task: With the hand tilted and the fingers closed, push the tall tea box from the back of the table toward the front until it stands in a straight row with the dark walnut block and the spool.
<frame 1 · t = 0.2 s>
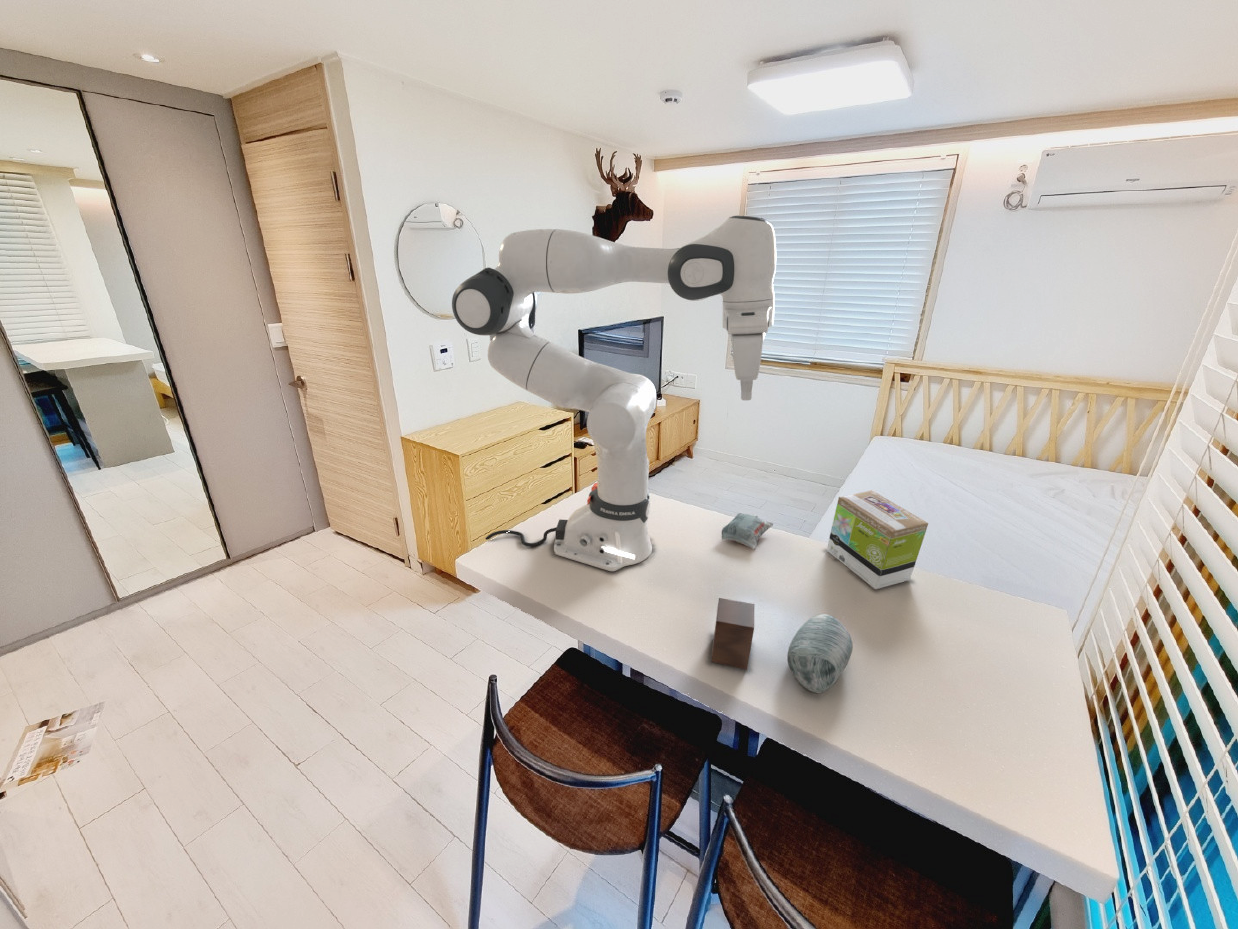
hand: (746, 392, 94), 39 cm above the table, tool pointing down, fingers open, 8 cm apart
packaged food: (746, 539, 120), on the table
walnut block: (729, 652, 87), on the table
tea box: (865, 566, 111), on the table
spool: (815, 669, 85), on the table
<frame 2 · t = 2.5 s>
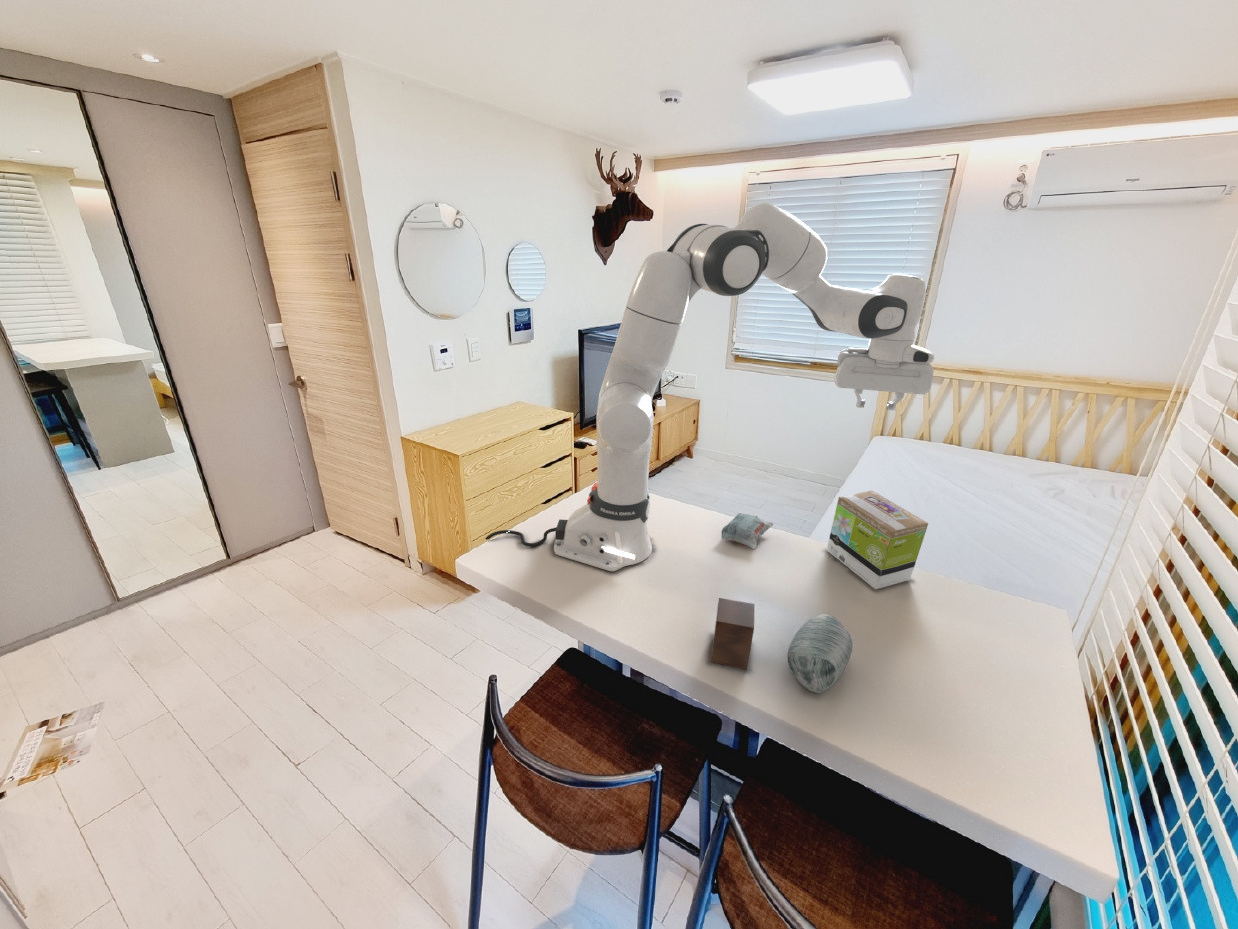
hand: (874, 408, 120), 29 cm above the table, tool pointing down, fingers open, 5 cm apart
nothing on the table moved.
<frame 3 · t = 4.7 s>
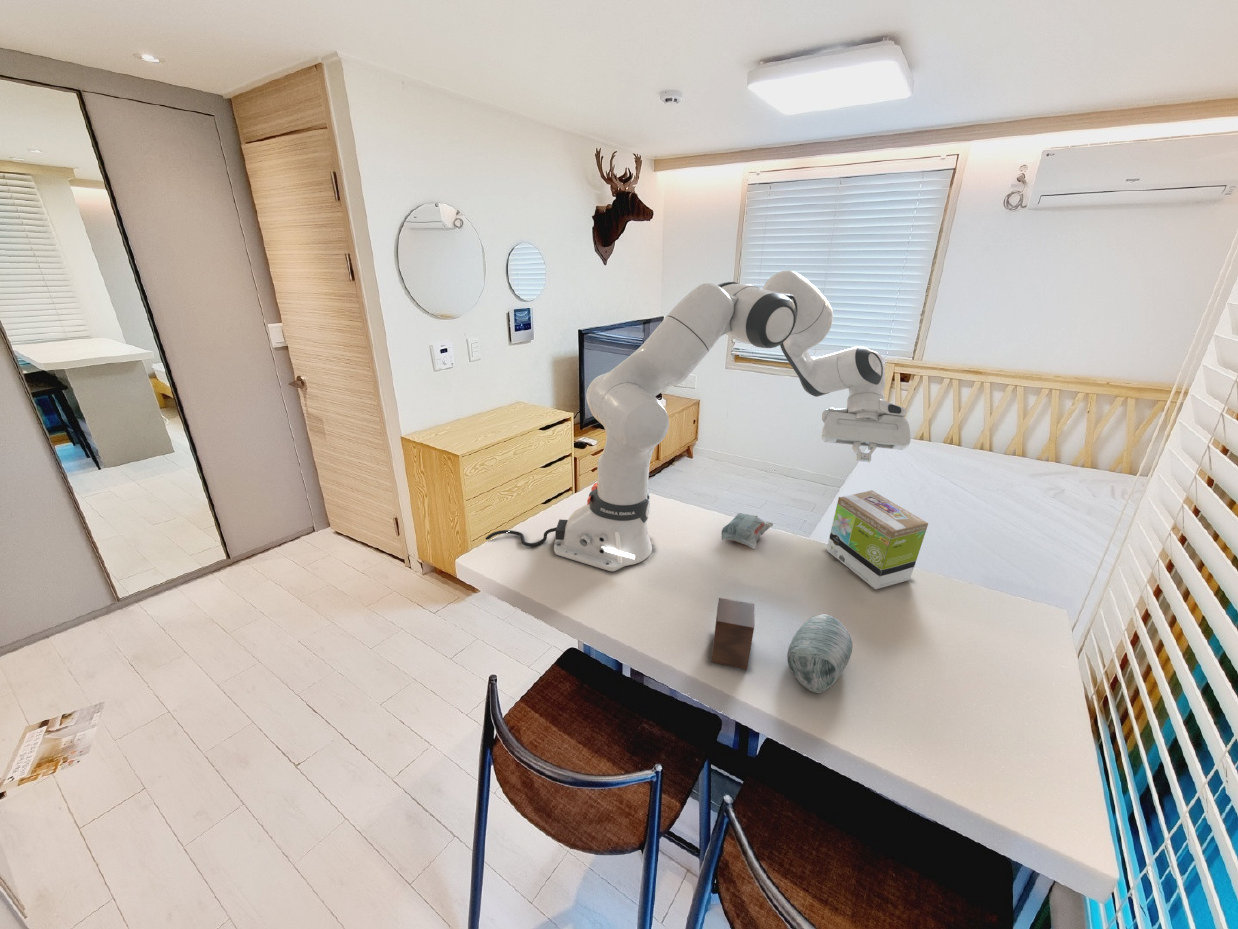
hand: (863, 460, 125), 16 cm above the table, tool tilted 45°, fingers closed
nothing on the table moved.
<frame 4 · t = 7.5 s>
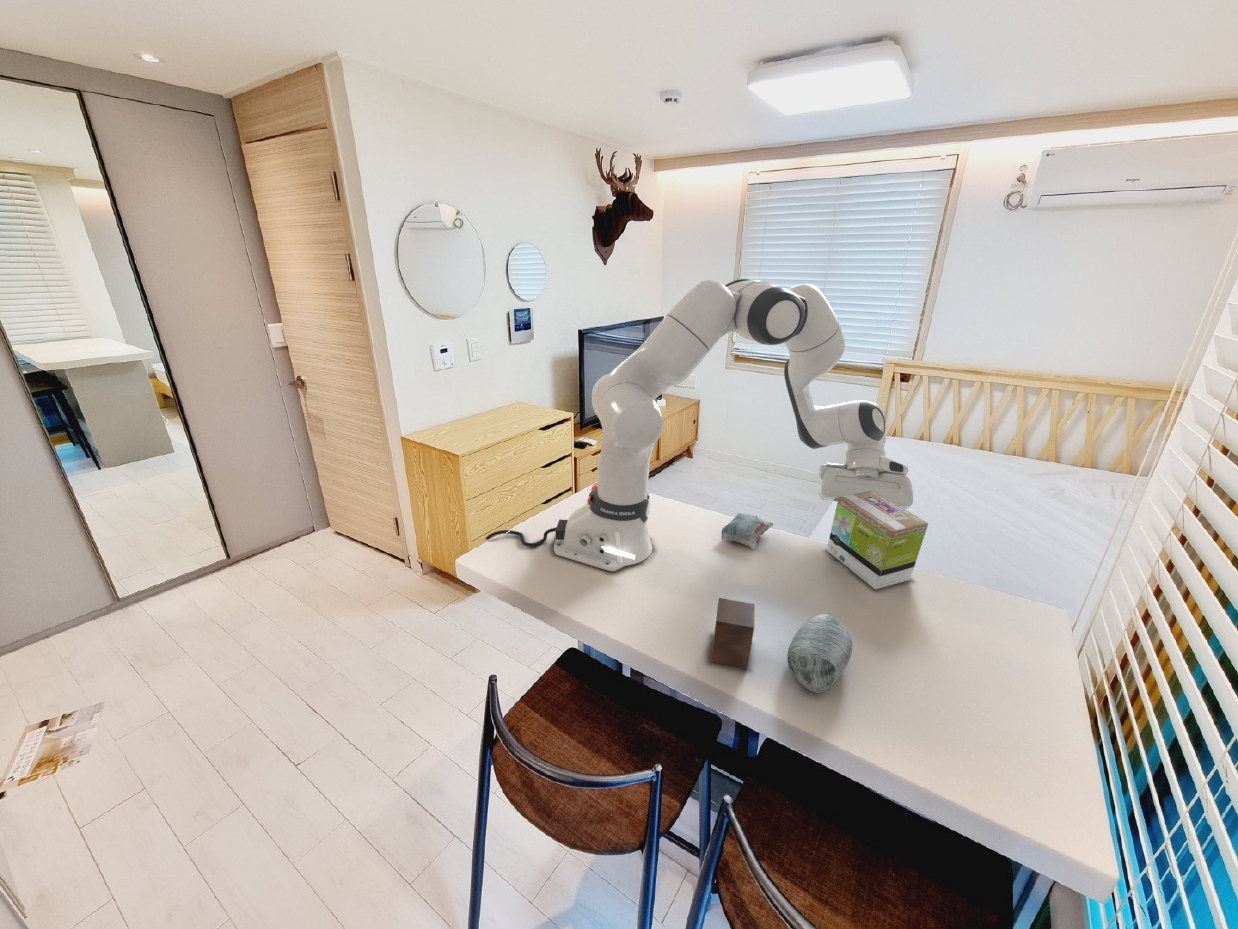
hand: (863, 522, 117), 6 cm above the table, tool tilted 45°, fingers closed
tea box: (865, 566, 111), on the table, touching gripper
everything else where it was.
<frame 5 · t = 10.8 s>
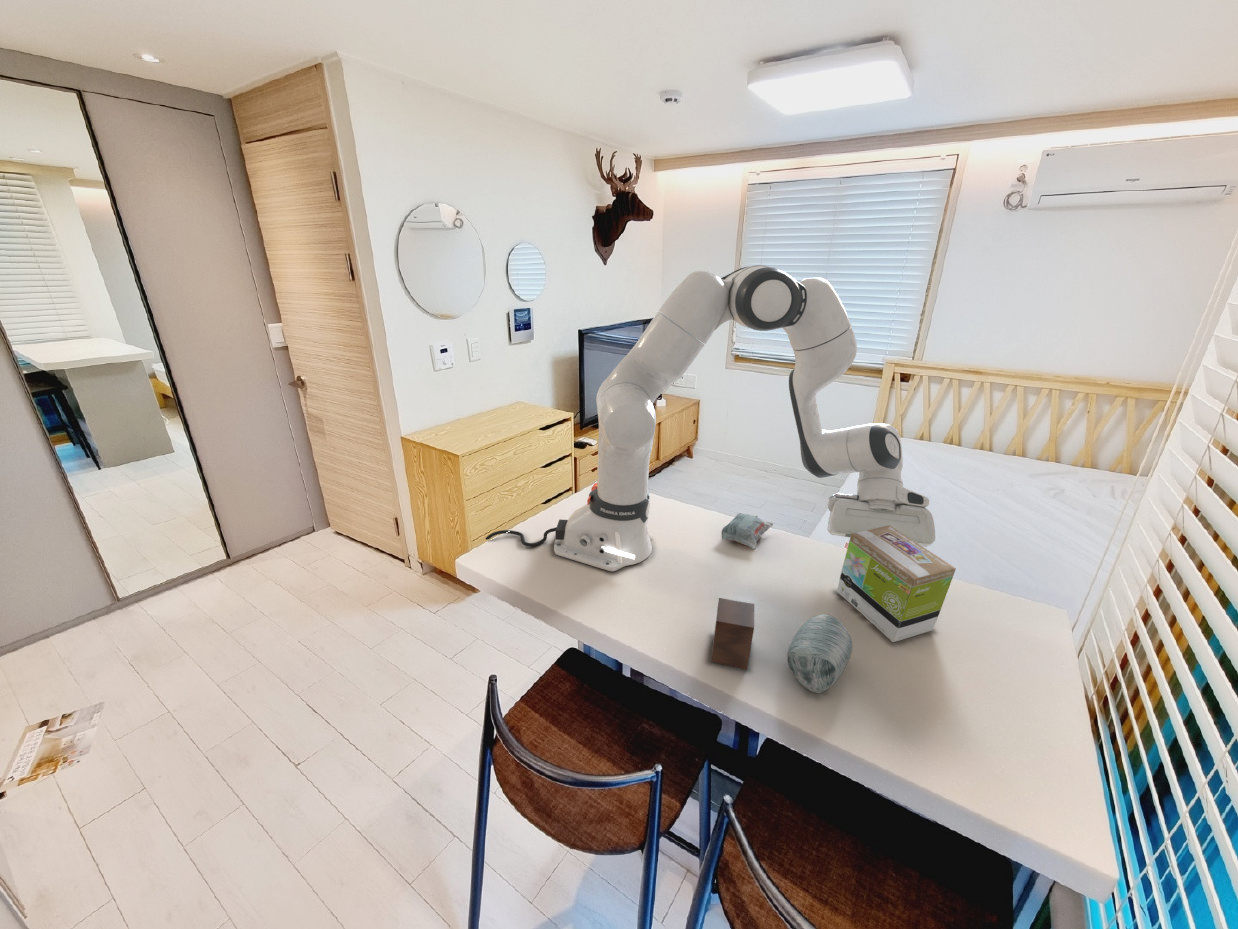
hand: (879, 561, 103), 6 cm above the table, tool tilted 45°, fingers closed
tea box: (881, 612, 98), on the table, touching gripper
everything else where it was.
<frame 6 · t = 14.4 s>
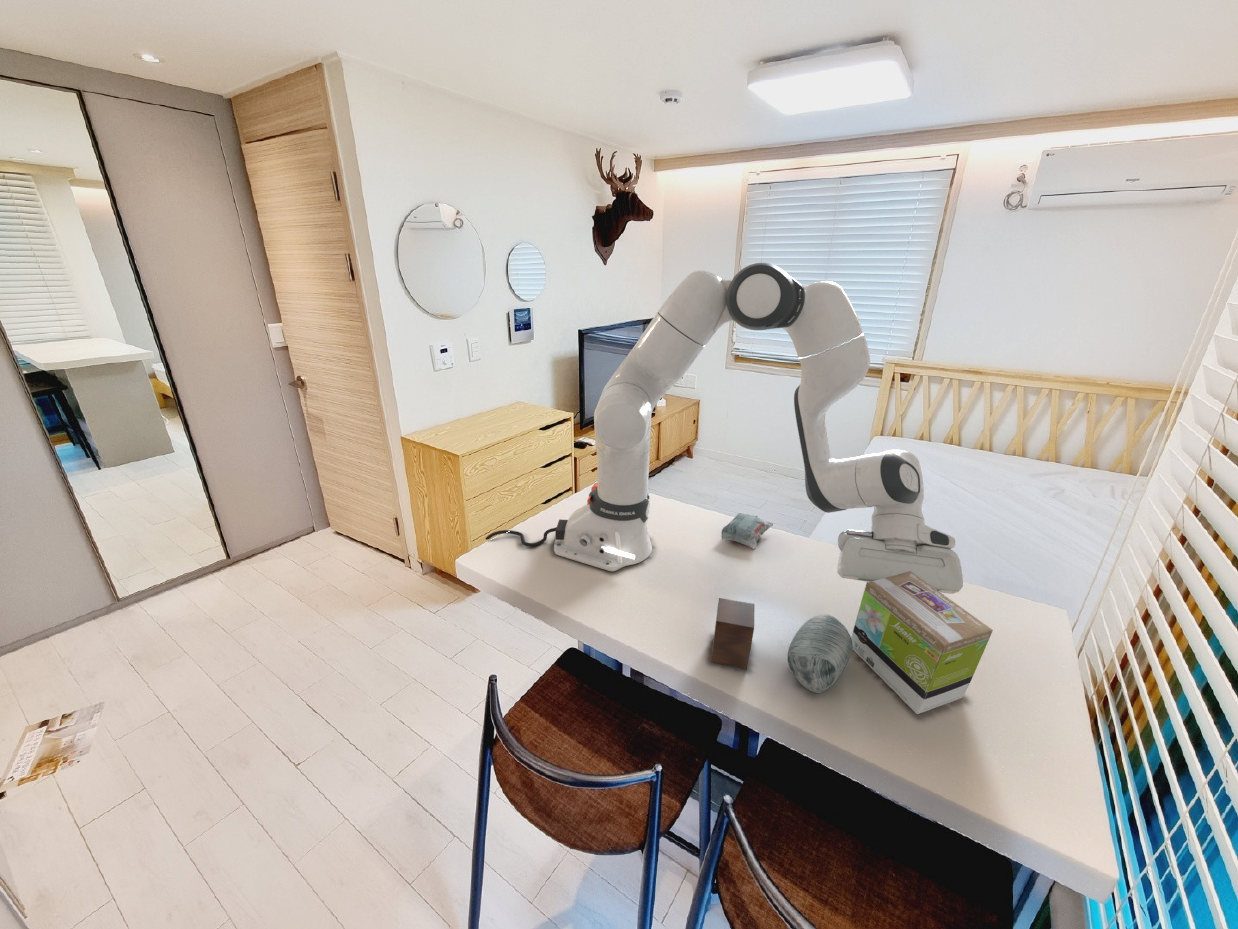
hand: (897, 611, 90), 5 cm above the table, tool tilted 45°, fingers closed, pressing on tea box
tea box: (902, 673, 84), on the table, touching gripper
everything else where it was.
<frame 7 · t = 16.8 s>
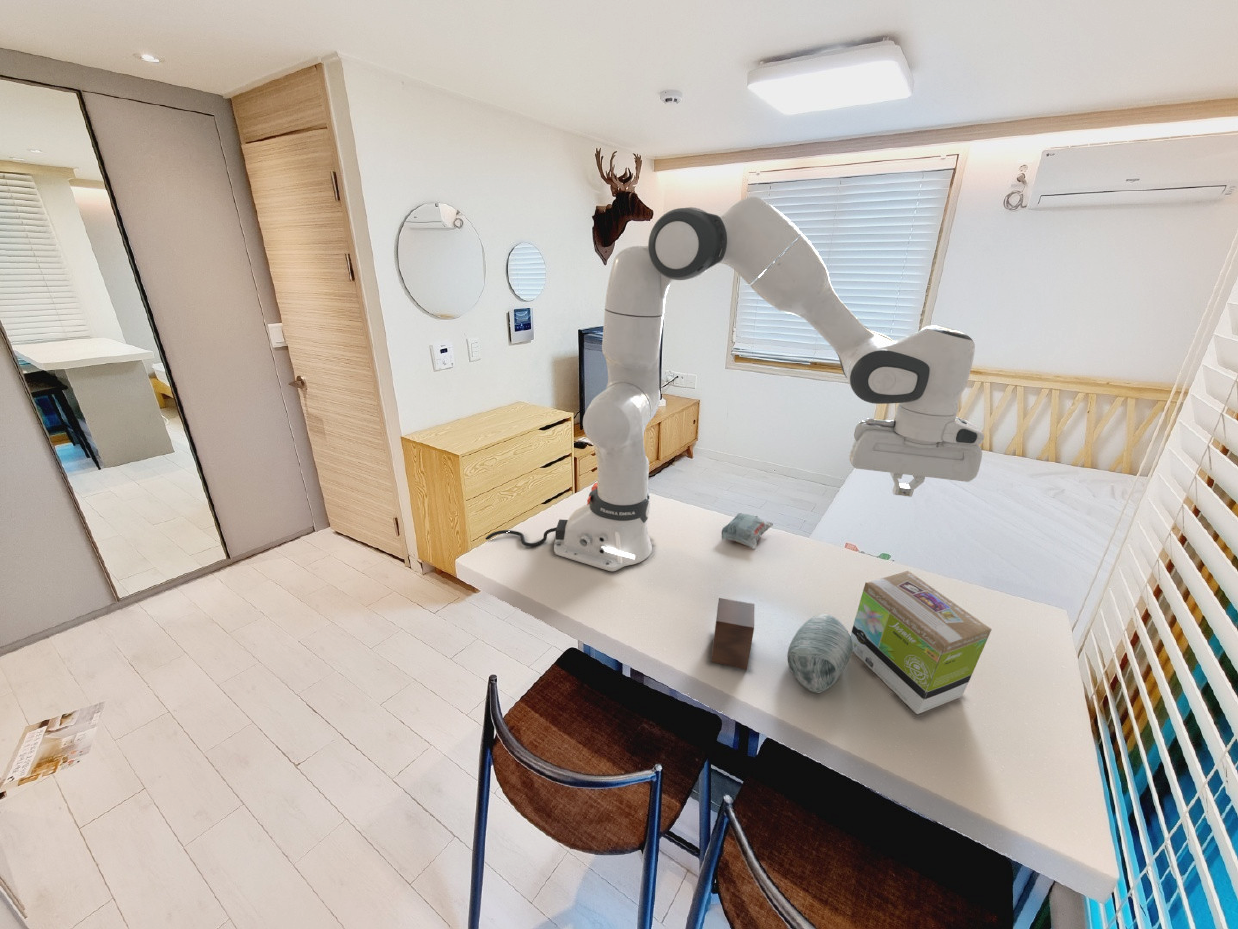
hand: (901, 494, 92), 23 cm above the table, tool pointing down, fingers closed
tea box: (900, 673, 84), on the table
everything else where it was.
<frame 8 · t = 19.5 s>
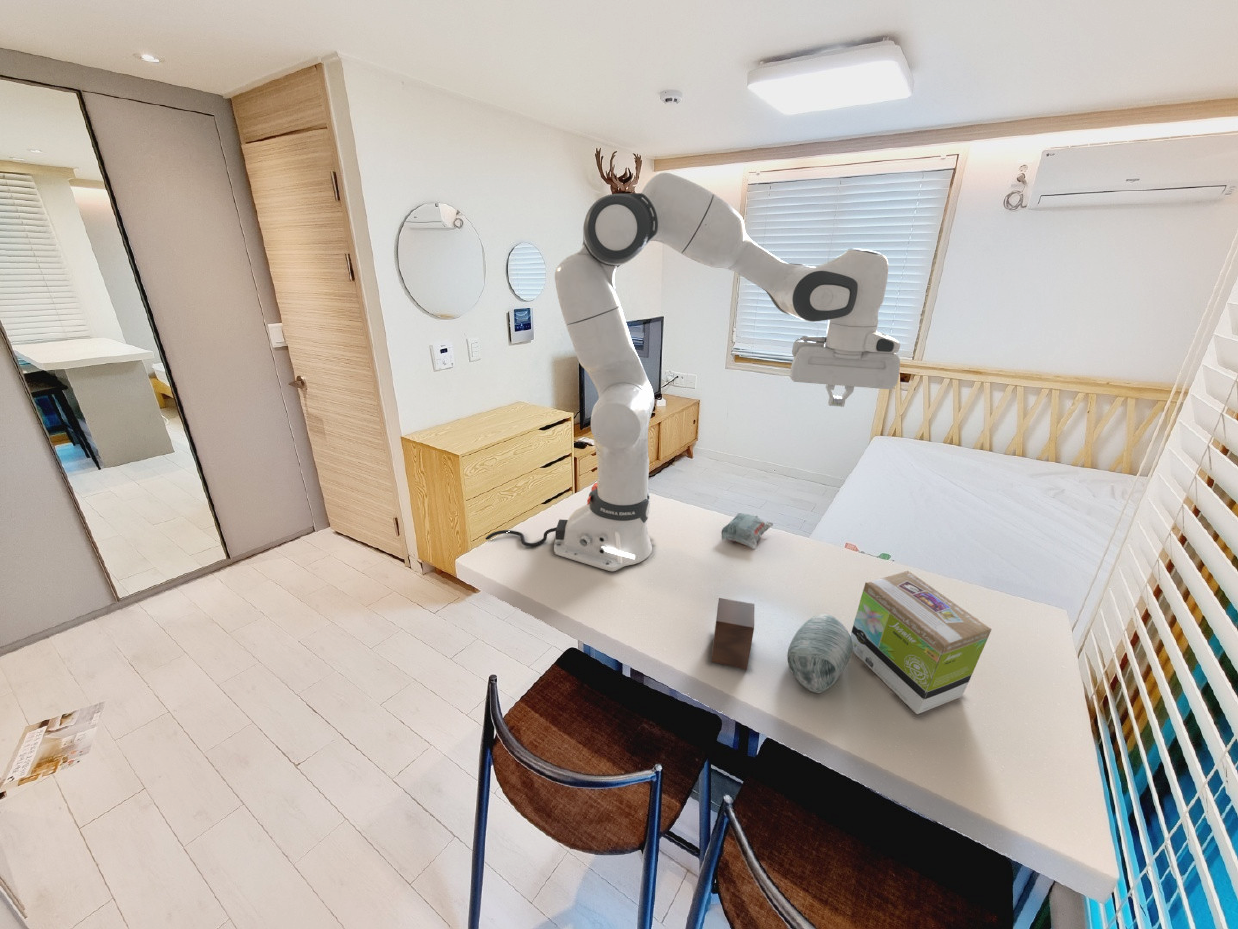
hand: (835, 405, 105), 34 cm above the table, tool pointing down, fingers closed
nothing on the table moved.
at the end: tea box inside the target area on the table beside the walnut block (0.3 cm from its centre), on the table; tea box tilted 0°; tea box moved 30.7 cm from its start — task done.
